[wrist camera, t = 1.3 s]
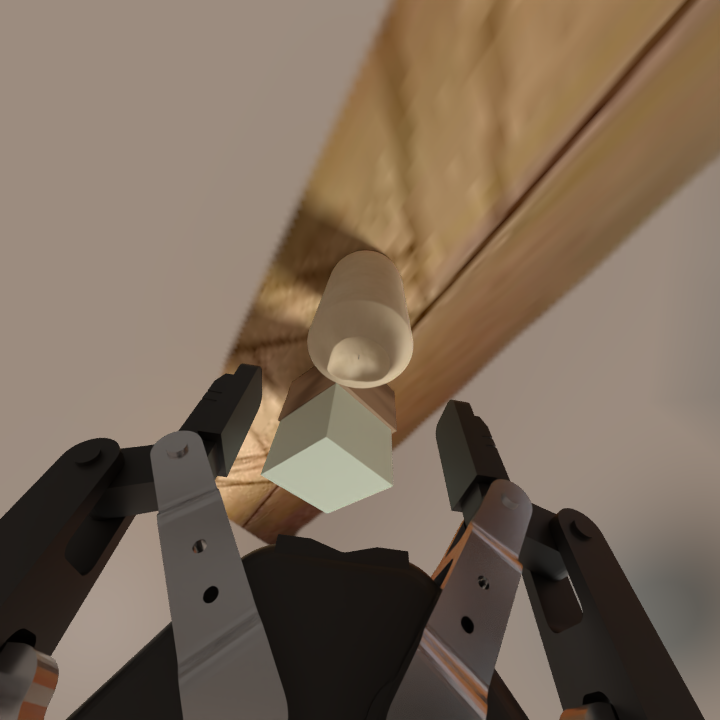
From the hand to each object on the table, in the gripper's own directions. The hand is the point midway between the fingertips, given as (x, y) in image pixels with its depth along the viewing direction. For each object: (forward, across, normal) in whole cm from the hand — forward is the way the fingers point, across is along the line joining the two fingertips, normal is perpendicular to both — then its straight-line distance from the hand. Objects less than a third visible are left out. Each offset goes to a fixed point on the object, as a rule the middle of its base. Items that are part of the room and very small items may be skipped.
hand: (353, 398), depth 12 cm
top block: (+7, 0, +10) cm, 12 cm away
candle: (+12, 0, 0) cm, 12 cm away
